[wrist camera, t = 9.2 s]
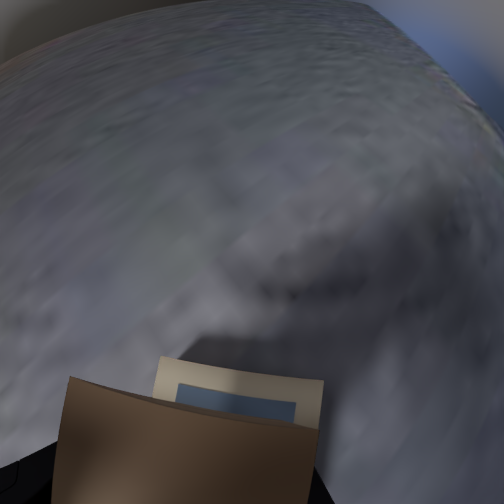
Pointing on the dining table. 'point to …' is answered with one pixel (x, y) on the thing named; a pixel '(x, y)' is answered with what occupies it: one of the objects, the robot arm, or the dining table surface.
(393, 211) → the dining table surface
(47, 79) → the dining table surface
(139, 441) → the walnut column
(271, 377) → the birch plinth
